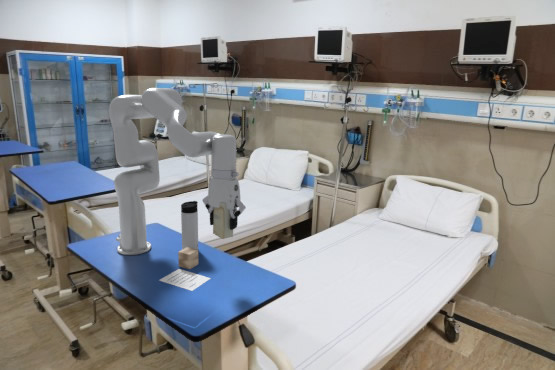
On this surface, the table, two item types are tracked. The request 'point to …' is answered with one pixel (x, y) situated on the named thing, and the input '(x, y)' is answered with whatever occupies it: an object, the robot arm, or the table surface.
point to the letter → (185, 279)
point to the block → (188, 258)
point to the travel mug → (189, 225)
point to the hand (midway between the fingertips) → (223, 225)
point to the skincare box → (222, 222)
